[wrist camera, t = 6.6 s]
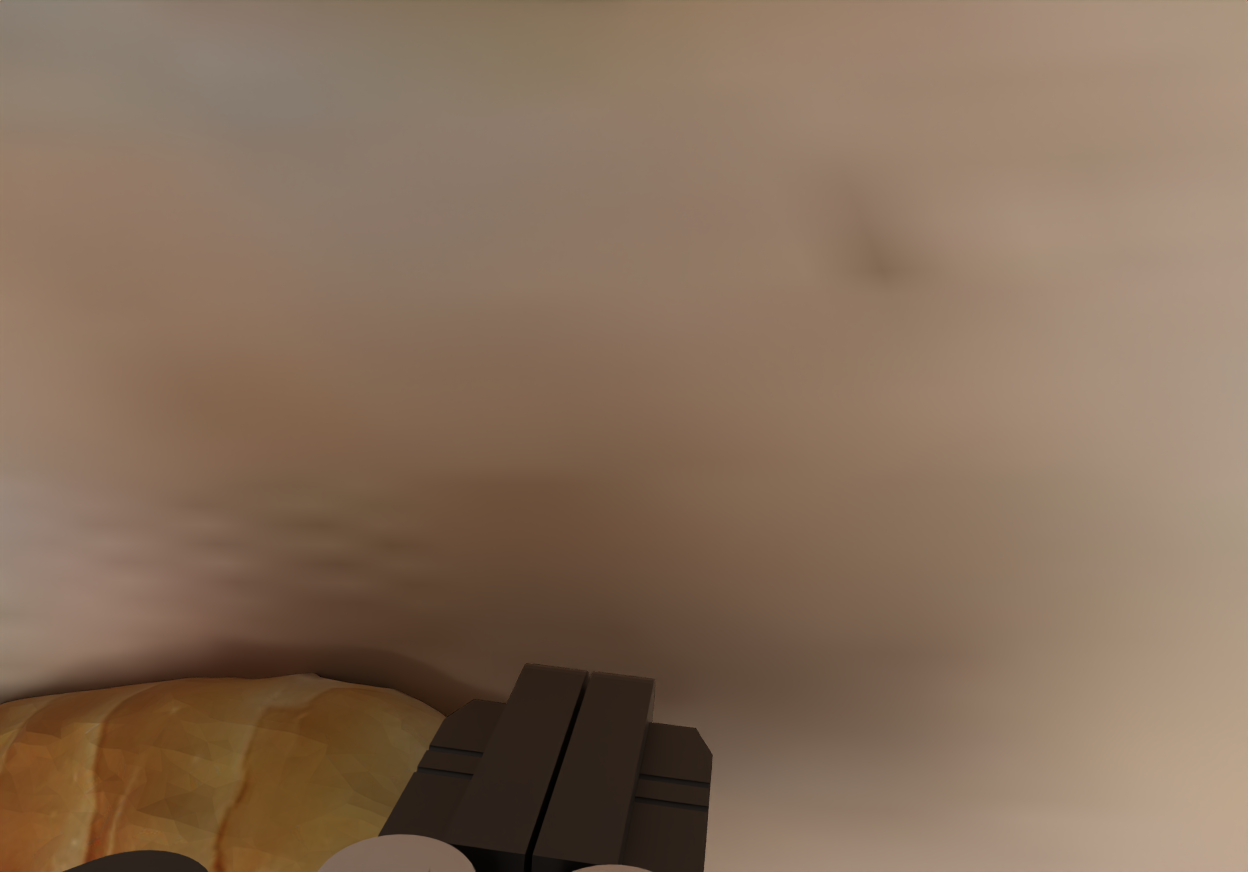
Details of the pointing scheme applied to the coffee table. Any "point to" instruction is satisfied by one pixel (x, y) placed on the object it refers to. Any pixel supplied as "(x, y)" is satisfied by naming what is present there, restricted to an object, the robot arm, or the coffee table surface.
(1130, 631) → the coffee table surface
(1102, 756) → the coffee table surface
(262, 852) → the pastry
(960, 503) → the coffee table surface
